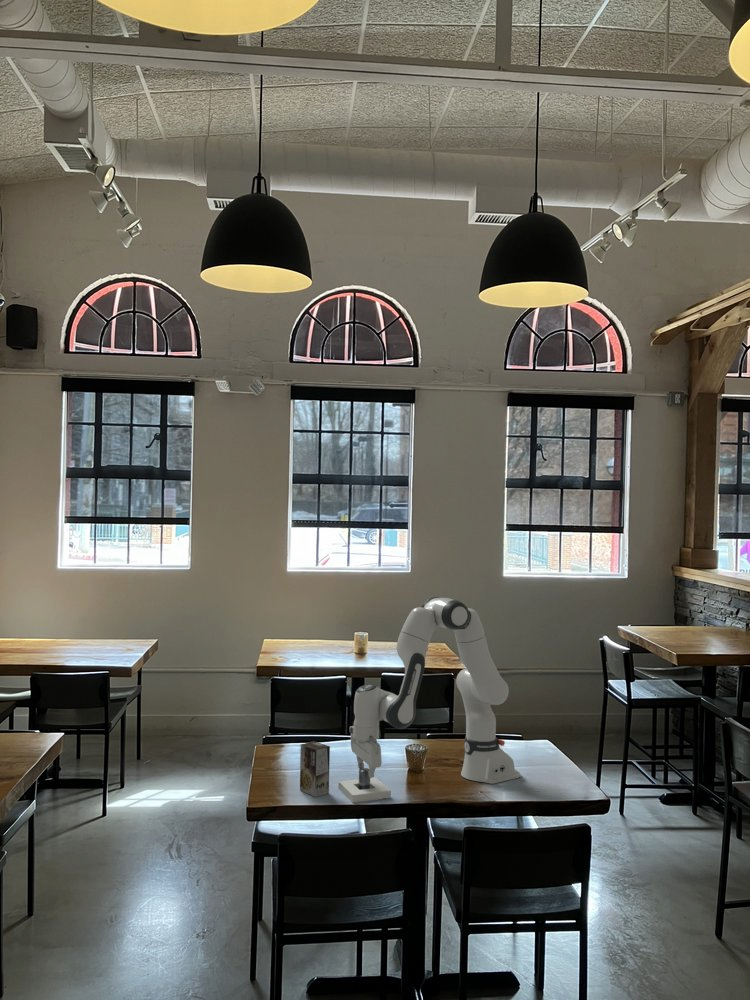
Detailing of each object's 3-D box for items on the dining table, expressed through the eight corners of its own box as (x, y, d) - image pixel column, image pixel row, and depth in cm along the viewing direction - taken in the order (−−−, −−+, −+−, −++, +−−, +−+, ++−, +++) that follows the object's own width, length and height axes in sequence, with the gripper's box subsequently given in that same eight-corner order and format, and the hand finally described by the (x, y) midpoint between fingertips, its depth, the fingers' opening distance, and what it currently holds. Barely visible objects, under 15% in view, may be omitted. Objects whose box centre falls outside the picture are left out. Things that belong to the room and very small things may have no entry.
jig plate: (375, 784, 269) (375, 777, 269) (390, 797, 256) (390, 790, 256) (338, 788, 263) (338, 781, 263) (352, 802, 250) (352, 795, 251)
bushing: (367, 790, 262) (368, 767, 262) (371, 794, 258) (372, 771, 259) (356, 792, 261) (357, 768, 261) (360, 795, 257) (361, 772, 257)
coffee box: (329, 793, 259) (330, 746, 259) (315, 797, 254) (316, 749, 255) (313, 786, 266) (314, 740, 266) (298, 790, 261) (300, 743, 262)
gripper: (386, 740, 252) (385, 781, 252) (364, 724, 271) (363, 762, 270) (368, 742, 249) (368, 783, 249) (347, 725, 268) (347, 764, 268)
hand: (365, 772), depth 260 cm, fingers open, 8 cm apart
